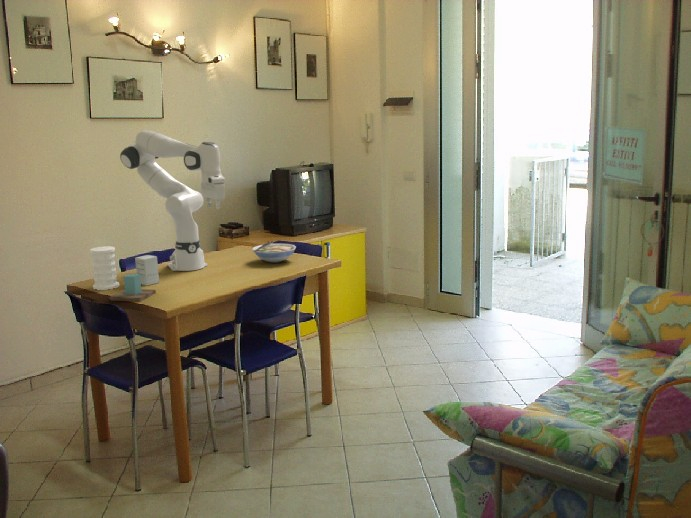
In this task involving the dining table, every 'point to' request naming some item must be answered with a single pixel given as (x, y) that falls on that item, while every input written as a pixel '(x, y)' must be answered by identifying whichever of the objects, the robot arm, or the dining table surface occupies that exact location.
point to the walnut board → (132, 296)
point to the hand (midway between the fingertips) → (213, 208)
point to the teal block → (132, 284)
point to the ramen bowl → (274, 251)
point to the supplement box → (147, 269)
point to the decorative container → (104, 268)
